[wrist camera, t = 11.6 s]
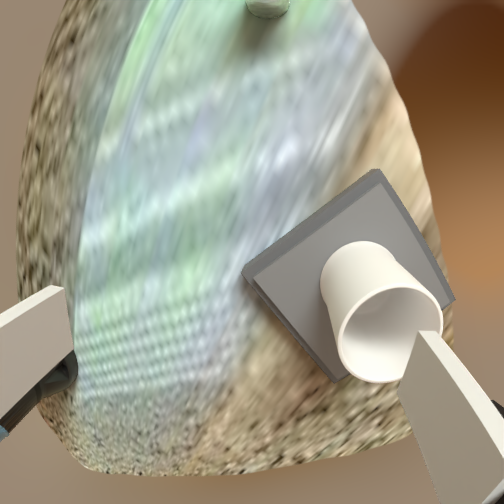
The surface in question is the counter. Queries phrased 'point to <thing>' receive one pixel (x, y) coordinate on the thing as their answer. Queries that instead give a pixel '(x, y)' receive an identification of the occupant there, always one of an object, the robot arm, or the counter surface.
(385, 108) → the counter surface
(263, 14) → the spice tin
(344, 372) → the podium
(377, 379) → the mug
